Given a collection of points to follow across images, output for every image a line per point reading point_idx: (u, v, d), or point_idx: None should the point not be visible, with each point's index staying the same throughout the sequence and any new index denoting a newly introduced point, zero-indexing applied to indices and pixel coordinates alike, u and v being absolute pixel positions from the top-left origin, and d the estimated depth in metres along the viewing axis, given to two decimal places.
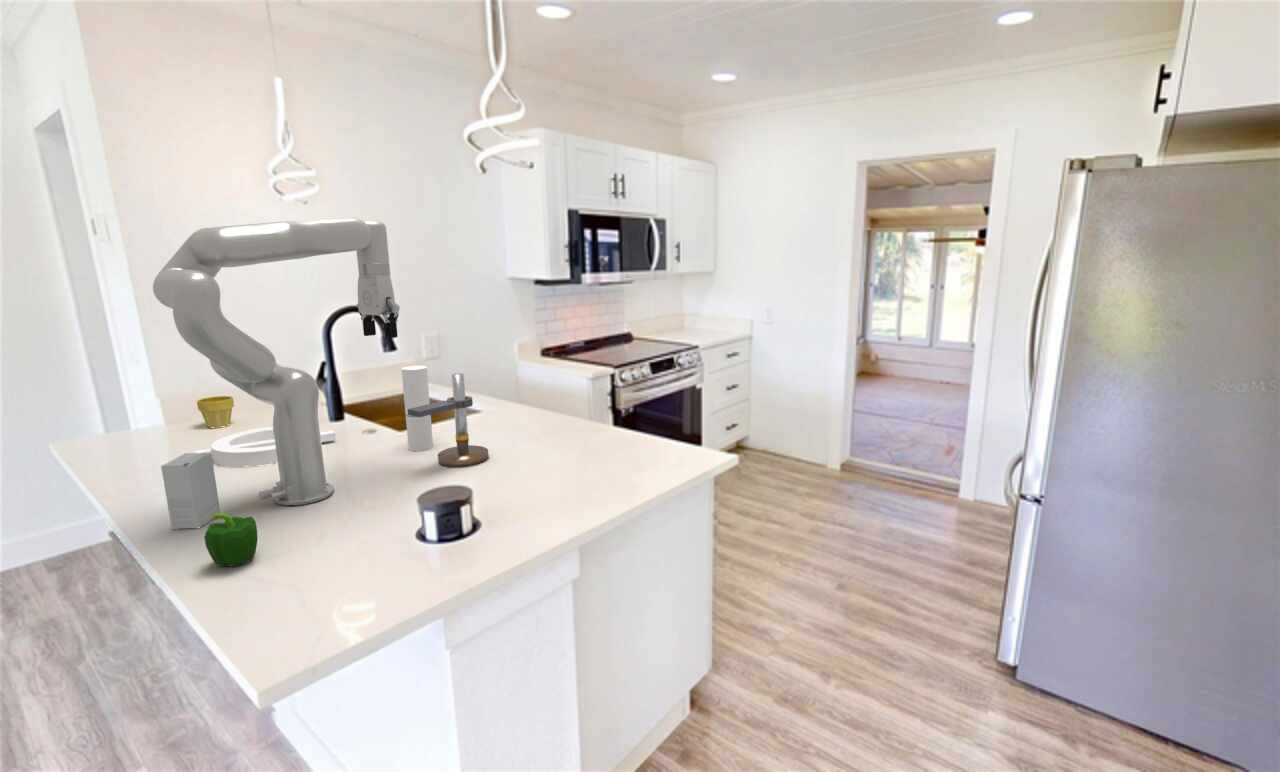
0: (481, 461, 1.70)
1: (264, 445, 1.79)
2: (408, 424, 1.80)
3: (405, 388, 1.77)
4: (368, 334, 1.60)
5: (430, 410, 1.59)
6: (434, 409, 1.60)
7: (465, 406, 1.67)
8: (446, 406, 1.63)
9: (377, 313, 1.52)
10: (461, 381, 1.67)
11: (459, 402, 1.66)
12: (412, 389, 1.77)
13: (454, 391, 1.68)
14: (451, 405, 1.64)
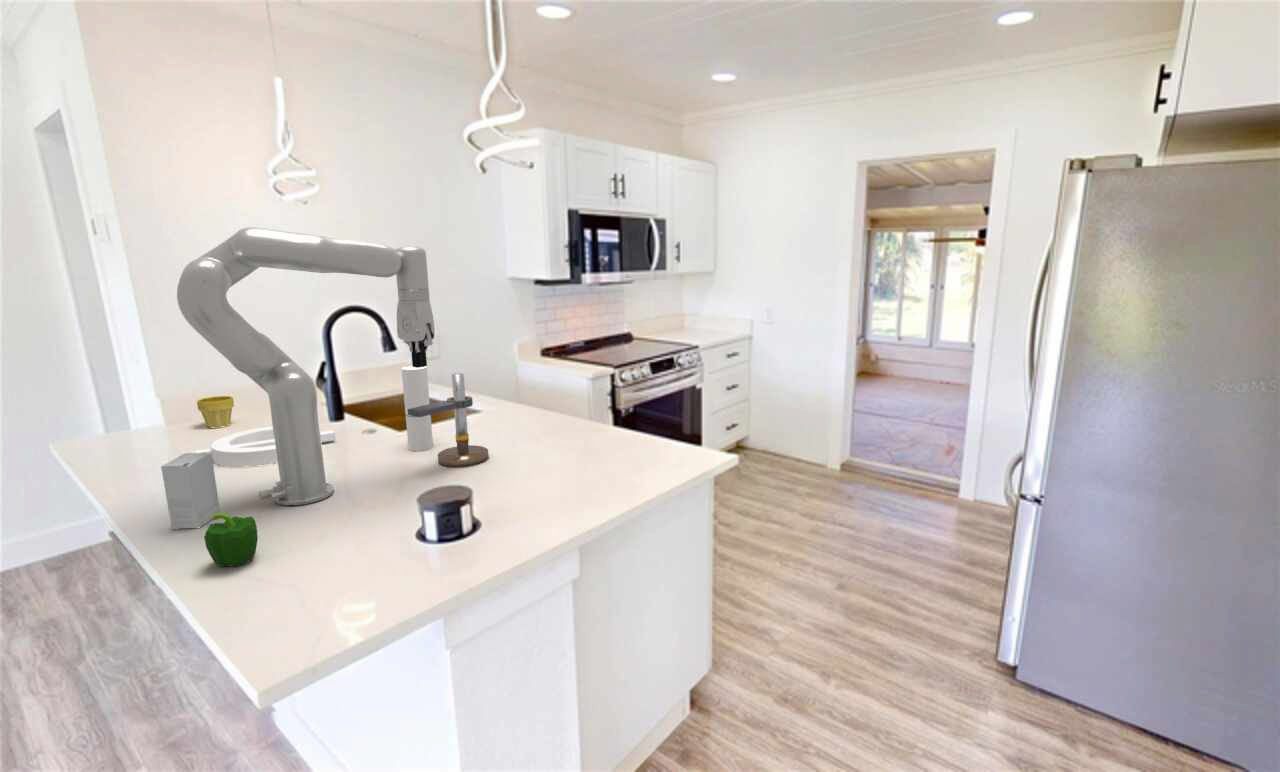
0: (481, 461, 1.70)
1: (264, 445, 1.79)
2: (408, 424, 1.80)
3: (405, 388, 1.77)
4: None
5: (430, 410, 1.59)
6: (434, 409, 1.60)
7: (465, 406, 1.67)
8: (446, 406, 1.63)
9: (417, 339, 1.52)
10: (461, 381, 1.67)
11: (459, 402, 1.66)
12: (412, 389, 1.77)
13: (454, 391, 1.68)
14: (451, 405, 1.64)
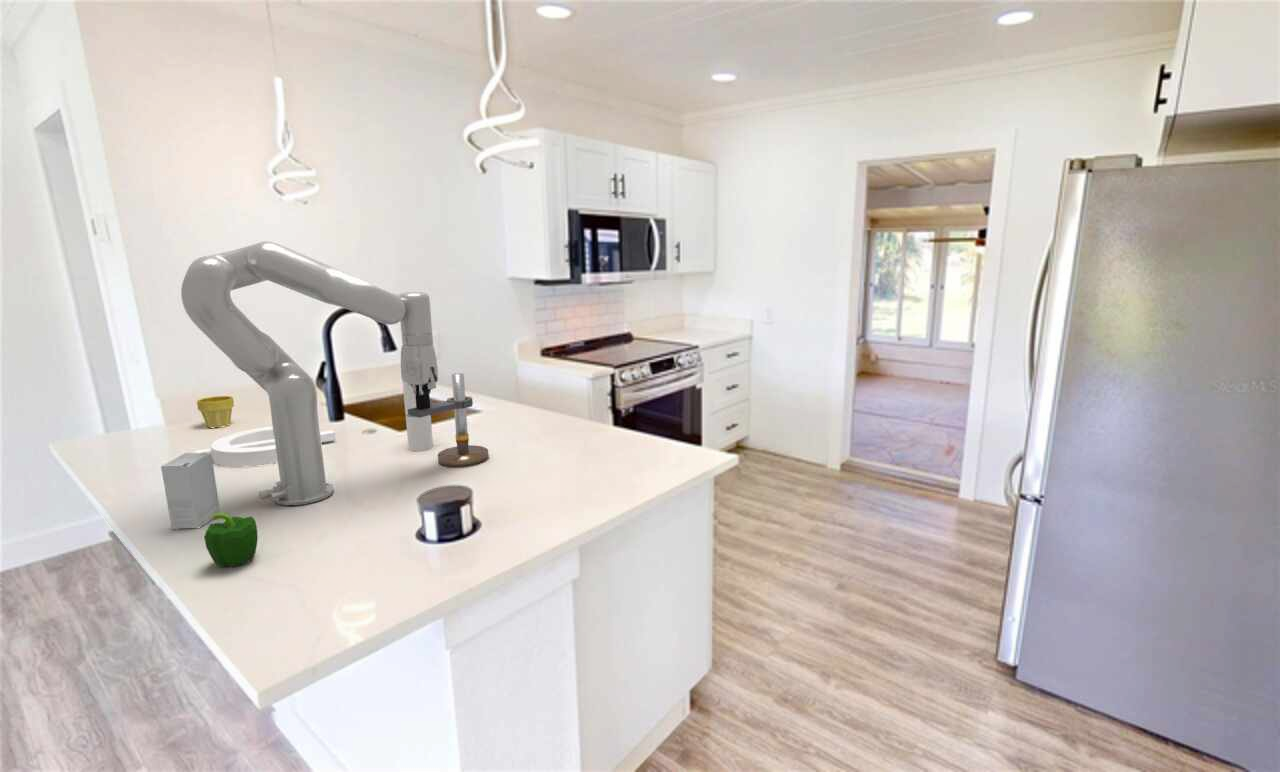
0: (481, 461, 1.70)
1: (264, 445, 1.79)
2: (408, 424, 1.80)
3: (405, 388, 1.77)
4: None
5: (430, 410, 1.59)
6: (434, 409, 1.60)
7: (465, 406, 1.67)
8: (446, 406, 1.63)
9: (421, 383, 1.54)
10: (461, 381, 1.67)
11: (459, 402, 1.66)
12: (412, 389, 1.77)
13: (454, 391, 1.68)
14: (451, 405, 1.64)
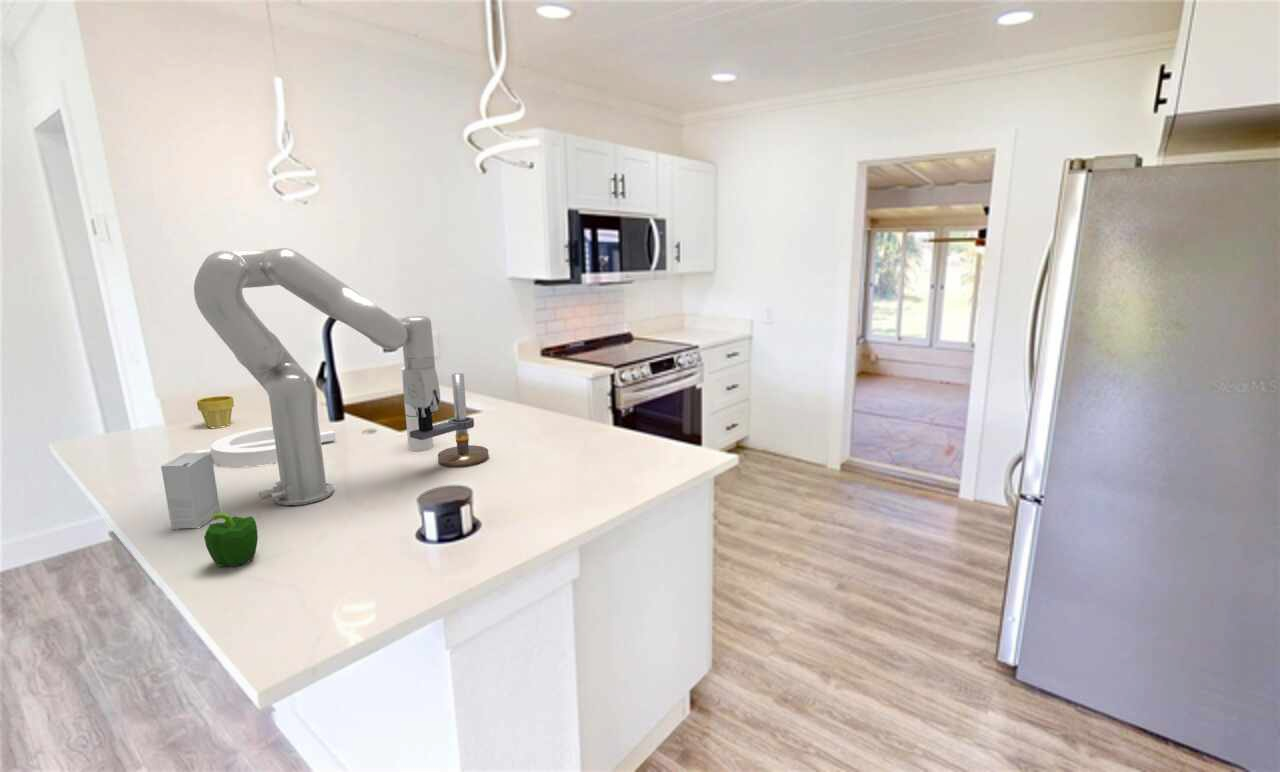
0: (481, 461, 1.70)
1: (264, 445, 1.79)
2: (408, 424, 1.80)
3: None
4: None
5: (432, 433, 1.60)
6: (436, 431, 1.61)
7: (466, 427, 1.69)
8: (448, 428, 1.64)
9: (424, 406, 1.55)
10: (461, 381, 1.67)
11: (460, 424, 1.68)
12: None
13: (454, 391, 1.68)
14: (453, 427, 1.66)
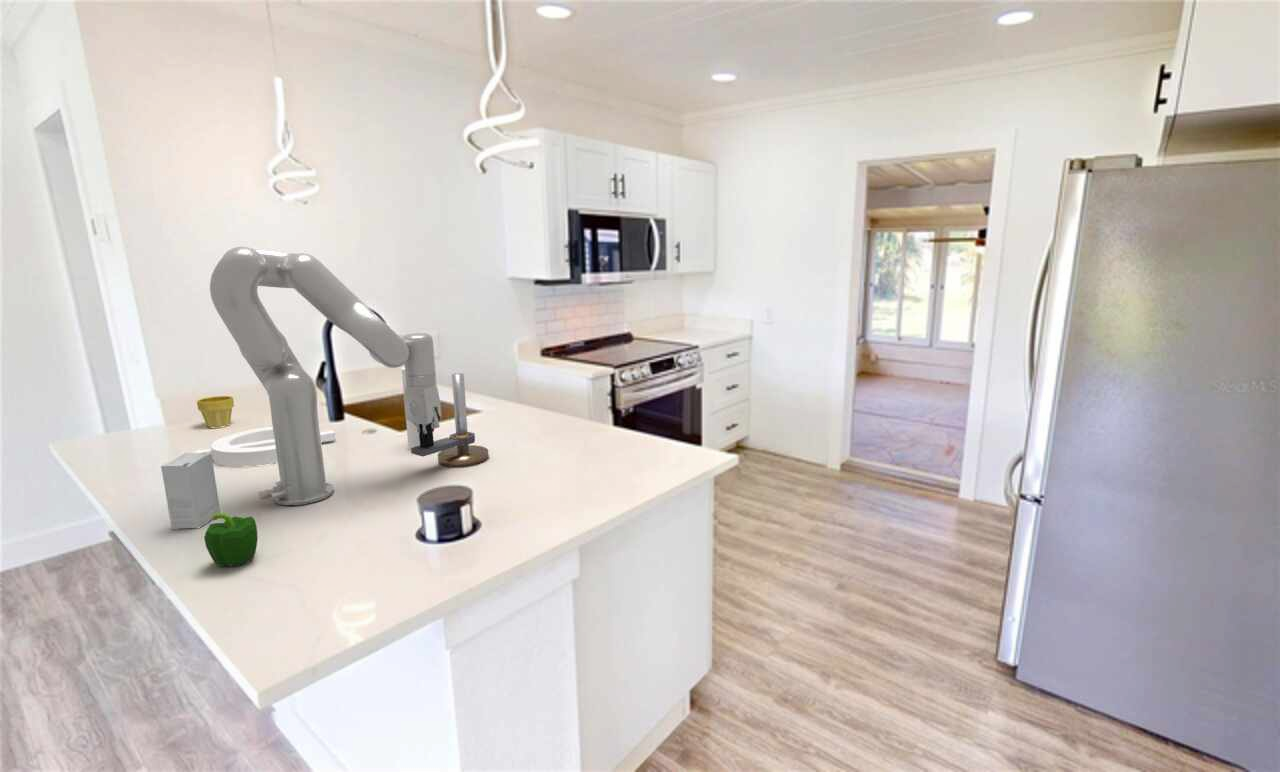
0: (481, 461, 1.70)
1: (264, 445, 1.79)
2: (408, 424, 1.80)
3: None
4: None
5: (433, 449, 1.61)
6: (437, 448, 1.62)
7: (467, 443, 1.69)
8: (449, 444, 1.65)
9: (425, 423, 1.56)
10: (461, 381, 1.67)
11: (462, 439, 1.69)
12: None
13: (454, 391, 1.68)
14: (454, 443, 1.67)
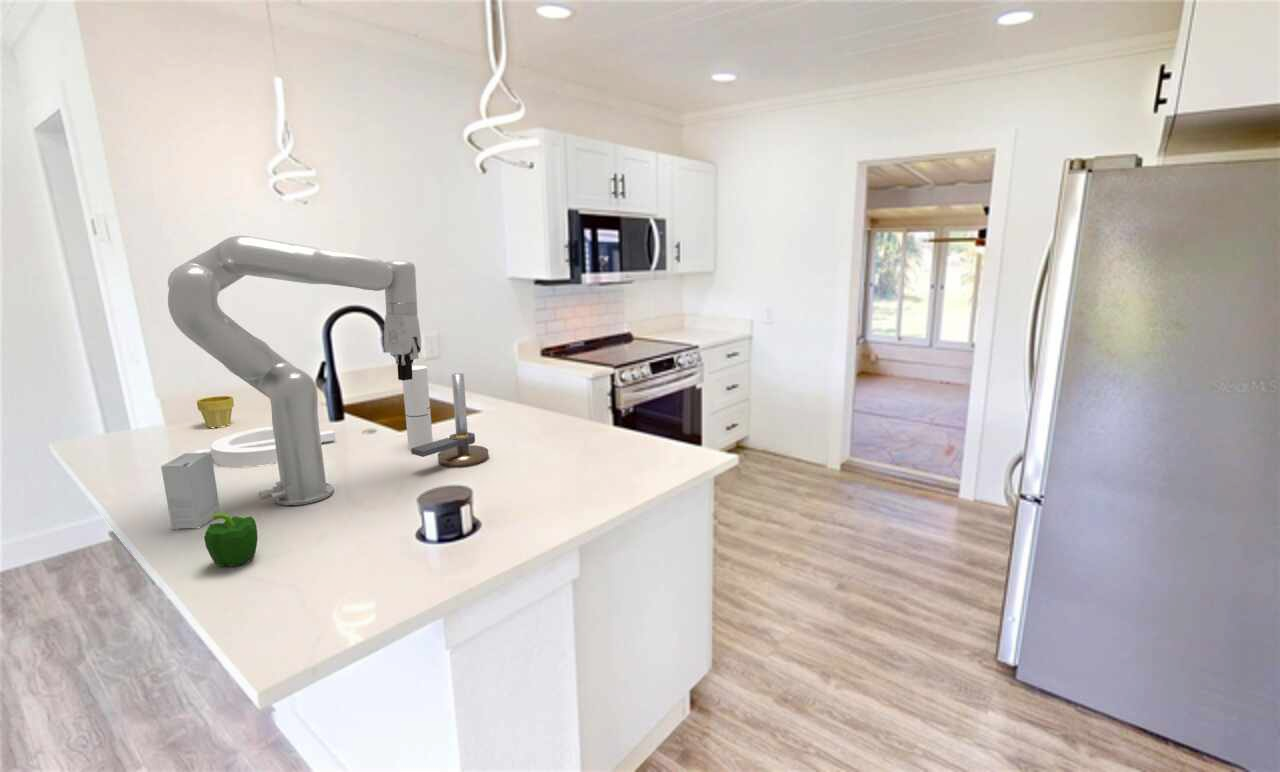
0: (481, 461, 1.70)
1: (264, 445, 1.79)
2: (408, 424, 1.80)
3: (405, 388, 1.77)
4: None
5: (433, 449, 1.61)
6: (437, 448, 1.62)
7: (468, 443, 1.69)
8: (449, 444, 1.65)
9: (403, 352, 1.52)
10: (461, 381, 1.67)
11: (462, 440, 1.69)
12: (412, 389, 1.77)
13: (454, 391, 1.68)
14: (454, 443, 1.67)
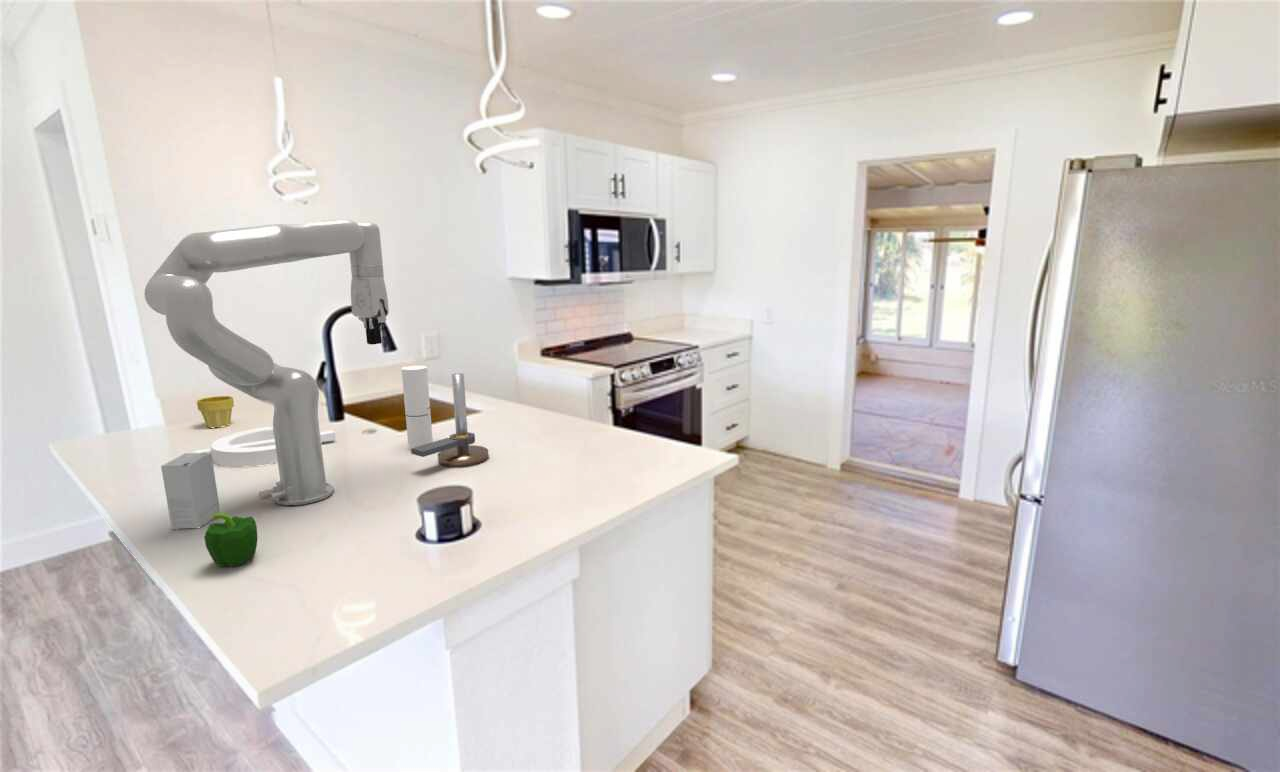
0: (481, 461, 1.70)
1: (264, 445, 1.79)
2: (408, 424, 1.80)
3: (405, 388, 1.77)
4: None
5: (433, 449, 1.61)
6: (437, 448, 1.62)
7: (468, 443, 1.69)
8: (449, 444, 1.65)
9: (370, 315, 1.51)
10: (461, 381, 1.67)
11: (462, 440, 1.69)
12: (412, 389, 1.77)
13: (454, 391, 1.68)
14: (454, 443, 1.67)
